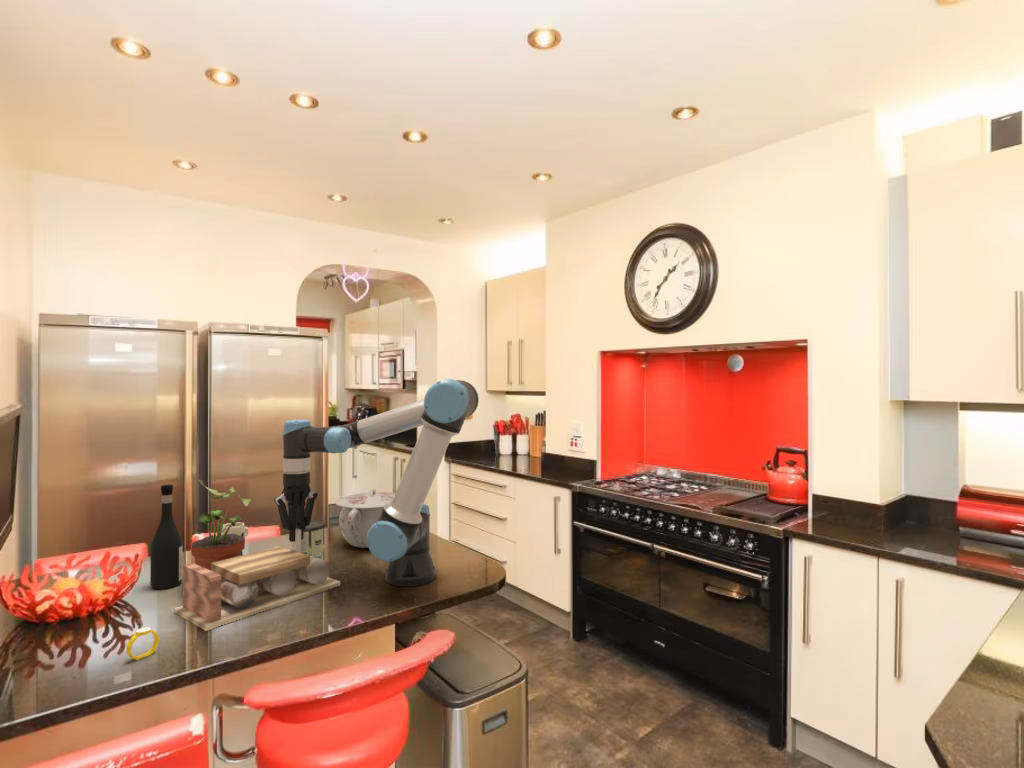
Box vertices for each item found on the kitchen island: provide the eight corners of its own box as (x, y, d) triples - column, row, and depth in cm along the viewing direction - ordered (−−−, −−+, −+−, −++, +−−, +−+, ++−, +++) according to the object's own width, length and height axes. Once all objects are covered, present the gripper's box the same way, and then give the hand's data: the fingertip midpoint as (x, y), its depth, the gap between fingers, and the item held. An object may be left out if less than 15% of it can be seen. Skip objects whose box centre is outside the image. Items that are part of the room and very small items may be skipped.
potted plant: (218, 597, 152) (218, 473, 152) (179, 591, 157) (179, 470, 158) (261, 579, 167) (261, 465, 167) (224, 573, 172) (224, 463, 172)
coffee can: (300, 561, 184) (301, 520, 184) (330, 562, 183) (330, 520, 183) (285, 571, 174) (285, 527, 174) (316, 572, 173) (316, 528, 173)
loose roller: (258, 603, 144) (258, 577, 144) (231, 612, 139) (231, 585, 139) (236, 593, 151) (236, 568, 151) (210, 601, 146) (210, 575, 146)
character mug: (224, 569, 176) (224, 529, 176) (210, 566, 179) (210, 527, 179) (254, 560, 185) (254, 522, 185) (241, 557, 189) (241, 520, 189)
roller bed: (340, 585, 161) (340, 544, 161) (205, 631, 131) (206, 580, 131) (305, 573, 172) (306, 535, 172) (174, 612, 142) (174, 566, 142)
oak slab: (309, 564, 154) (309, 555, 154) (239, 584, 138) (239, 575, 138) (279, 554, 164) (279, 546, 164) (210, 572, 148) (210, 563, 148)
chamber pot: (389, 530, 225) (389, 480, 225) (422, 545, 204) (422, 489, 204) (322, 542, 207) (322, 488, 207) (351, 560, 186) (351, 499, 186)
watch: (153, 651, 122) (155, 623, 122) (159, 654, 120) (162, 626, 121) (123, 660, 116) (125, 632, 117) (130, 664, 115) (132, 635, 115)
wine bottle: (175, 578, 167) (175, 481, 168) (187, 584, 163) (187, 484, 163) (145, 586, 161) (146, 485, 161) (157, 592, 156) (157, 488, 156)
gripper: (309, 468, 168) (309, 544, 167) (269, 473, 157) (268, 554, 157) (323, 470, 163) (323, 548, 163) (282, 475, 153) (282, 559, 152)
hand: (296, 551), depth 160 cm, fingers closed
